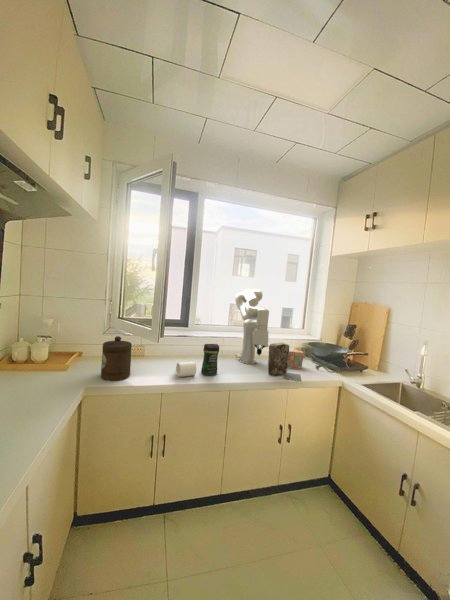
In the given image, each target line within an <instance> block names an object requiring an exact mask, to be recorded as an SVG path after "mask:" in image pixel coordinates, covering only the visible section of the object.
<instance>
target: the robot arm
mask: <svg viewBox="0 0 450 600" xmlns="http://www.w3.org/2000/svg"><path fill="white" fill-rule="evenodd" d="M234 297H235V306H236V307H237V308H238V310H239V313H240V315H241V319H242V320H243V324H242V325H243V326H242V327H243V329H242V330H243V335H242V337H243V338H242V348H241V354H238V353H236V354H235V358H238V361H239V362H240V363H243V364H247V365H253V364H256V363H257V359H255V354H257V356H261V355H262V351H263V349H264V348H269V330H268V326H269V325H268V324H269V318H270V317H269V316H270V310H269V309H267V308H265V307H261V306H259V305H258V304H259V303H260V301H261V300H262V299H263V292H262V290H260V289H257V288H256V289H254V288H247V289H245V290H244V291H242V292H237V293H236V294H235V296H234ZM257 305H258V306H257Z"/></svg>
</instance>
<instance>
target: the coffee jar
mask: <svg viewBox="0 0 450 600" xmlns="http://www.w3.org/2000/svg"><path fill="white" fill-rule="evenodd" d="M203 345H204V346H203V359H202V365H201V370H200V372H201V374H202V375H205V376H216V375H217V374H218V355H219V353H220V345H219V344H218V343H204V344H203Z"/></svg>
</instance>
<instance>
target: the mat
mask: <svg viewBox="0 0 450 600" xmlns="http://www.w3.org/2000/svg"><path fill="white" fill-rule="evenodd" d="M282 376H283V377H282V378H283V379H285V380H290V379H291V380H290V381H296V380H297V381H296V382H302V377H301V374H300V373H293V372H288V371H287V372H286V373H285V374H282Z"/></svg>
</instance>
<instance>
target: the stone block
mask: <svg viewBox="0 0 450 600" xmlns="http://www.w3.org/2000/svg"><path fill="white" fill-rule="evenodd" d="M289 349H290V345H289V344H287V343H285V342H276V343H270V344H268V361H267V364H268V365H267V366H268V367H267V373H268V375H269V376H272V377H275V376H280V375H283V374H285V373H286V372H288V370H287V369H288V368H287V359H288V353H289Z"/></svg>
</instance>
